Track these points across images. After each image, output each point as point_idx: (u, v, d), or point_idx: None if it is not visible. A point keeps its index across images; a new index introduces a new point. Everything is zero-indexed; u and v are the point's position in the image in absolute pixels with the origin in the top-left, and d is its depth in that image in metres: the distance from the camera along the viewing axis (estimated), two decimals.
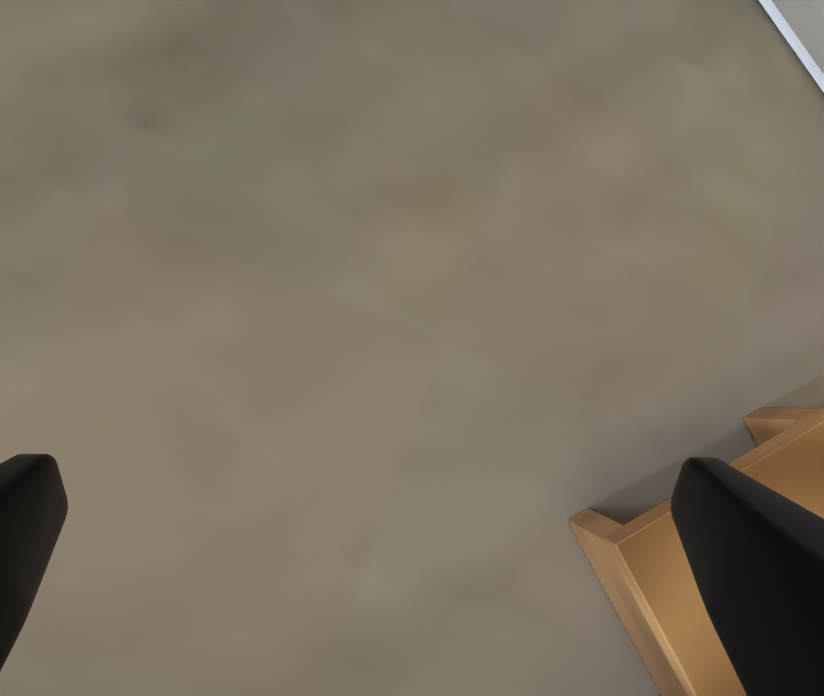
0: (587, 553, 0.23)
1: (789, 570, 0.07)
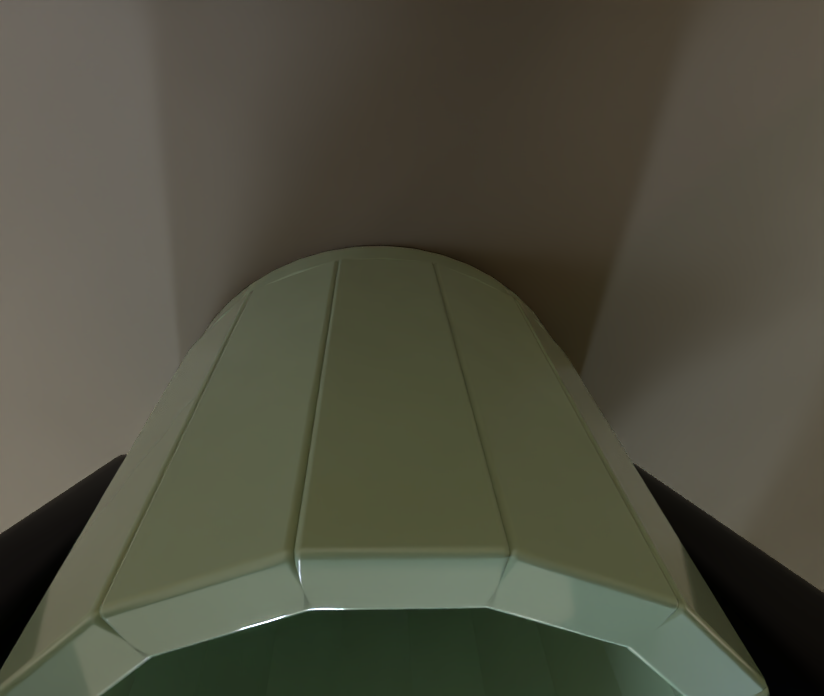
0: None
1: None
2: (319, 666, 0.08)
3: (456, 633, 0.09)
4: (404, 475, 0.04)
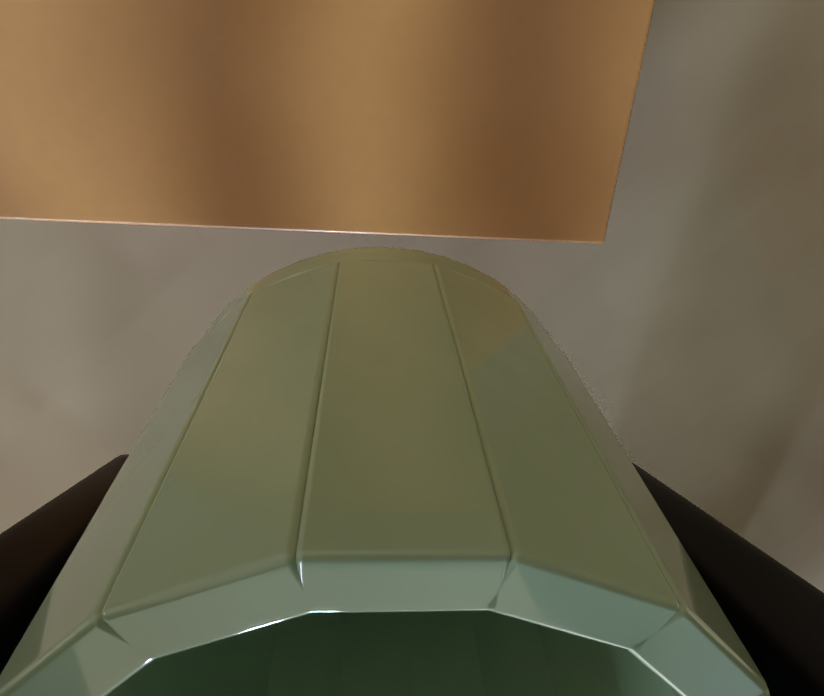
0: None
1: None
2: (320, 667, 0.08)
3: (458, 634, 0.09)
4: (405, 478, 0.04)
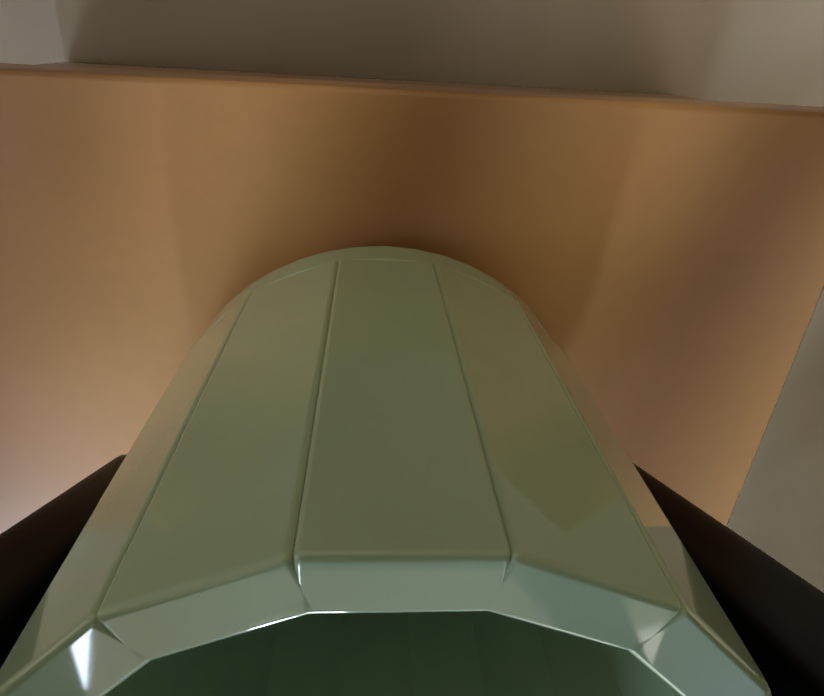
0: None
1: None
2: (319, 667, 0.08)
3: (457, 634, 0.09)
4: (405, 476, 0.04)
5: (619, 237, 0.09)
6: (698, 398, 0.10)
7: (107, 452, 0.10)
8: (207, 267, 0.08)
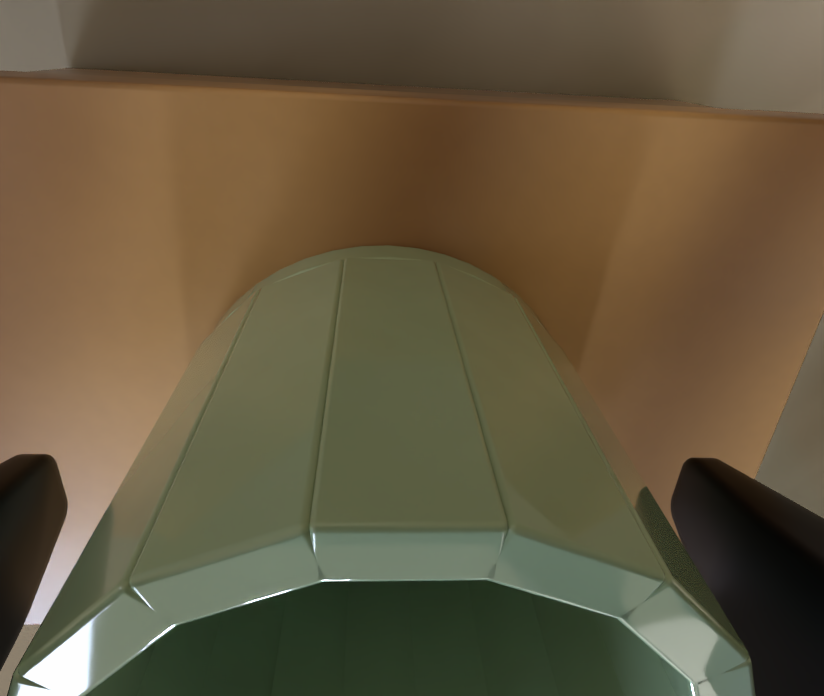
0: None
1: (789, 570, 0.07)
2: (325, 652, 0.09)
3: (458, 621, 0.09)
4: (412, 458, 0.04)
5: (624, 245, 0.09)
6: (704, 406, 0.10)
7: (109, 460, 0.10)
8: (210, 275, 0.08)
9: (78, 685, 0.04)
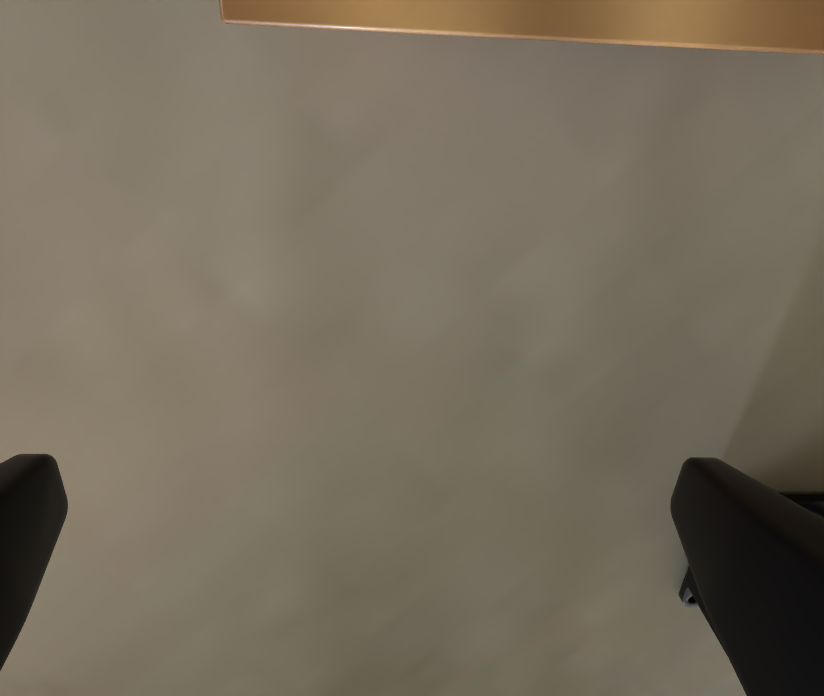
0: None
1: (789, 570, 0.07)
2: None
3: None
4: None
5: None
6: None
7: None
8: None
9: None
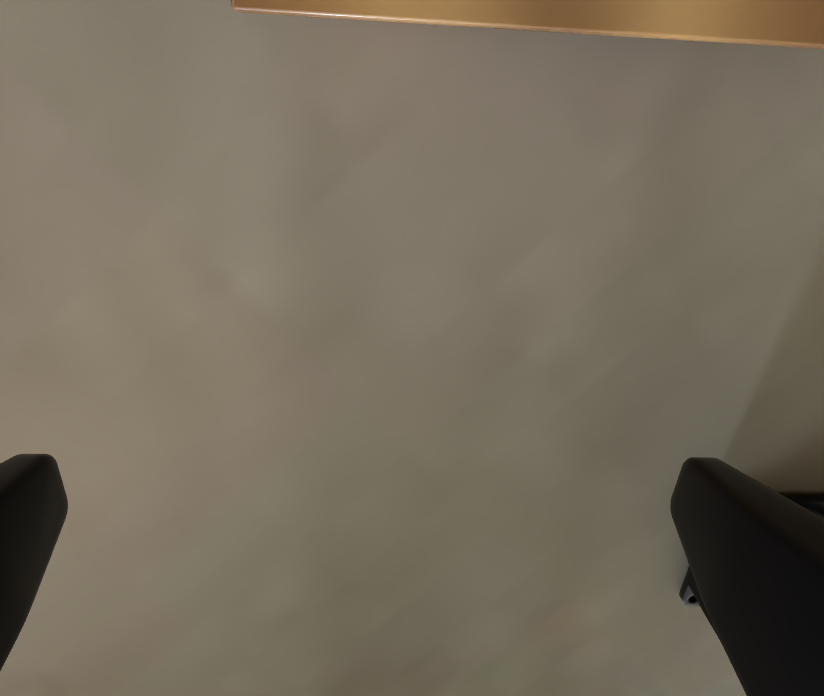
0: None
1: (789, 570, 0.07)
2: None
3: None
4: None
5: None
6: None
7: None
8: None
9: None
